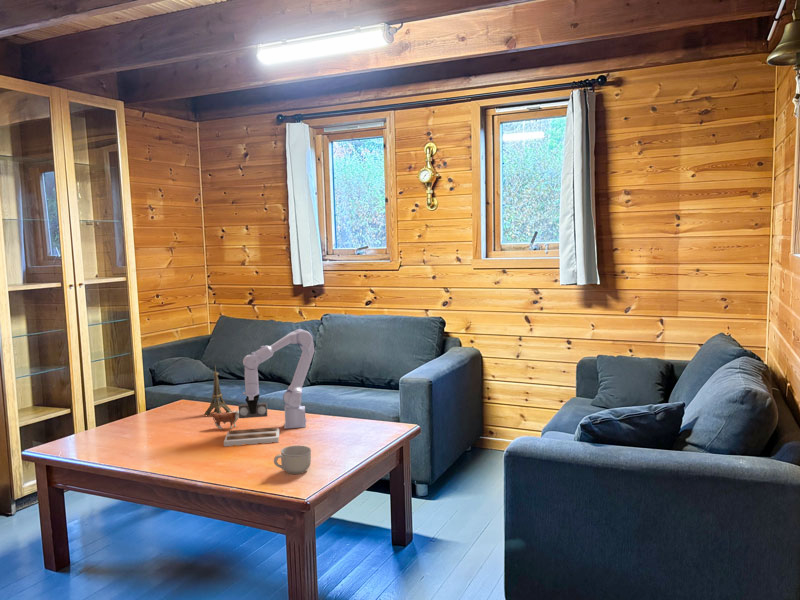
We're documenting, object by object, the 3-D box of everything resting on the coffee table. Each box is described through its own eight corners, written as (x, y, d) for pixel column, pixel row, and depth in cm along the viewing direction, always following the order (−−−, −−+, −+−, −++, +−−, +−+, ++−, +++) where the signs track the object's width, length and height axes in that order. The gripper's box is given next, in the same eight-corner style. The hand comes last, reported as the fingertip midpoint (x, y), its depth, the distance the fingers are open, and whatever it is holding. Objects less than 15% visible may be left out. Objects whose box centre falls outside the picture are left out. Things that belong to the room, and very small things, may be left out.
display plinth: (279, 432, 274) (279, 425, 274) (278, 442, 260) (278, 434, 260) (227, 436, 270) (227, 429, 270) (224, 446, 257) (223, 438, 256)
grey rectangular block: (267, 414, 279) (266, 402, 278) (267, 416, 275) (266, 404, 275) (239, 416, 277) (239, 404, 276) (239, 418, 274) (238, 406, 273)
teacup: (306, 464, 232) (305, 443, 231) (316, 472, 222) (315, 450, 222) (269, 471, 225) (268, 449, 225) (278, 480, 216) (277, 458, 215)
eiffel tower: (216, 410, 317) (213, 362, 315) (233, 412, 313) (230, 362, 311) (202, 416, 308) (199, 365, 306) (219, 417, 304) (216, 366, 302)
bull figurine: (242, 429, 282) (241, 411, 281) (212, 429, 282) (211, 412, 281) (244, 426, 286) (243, 408, 286) (215, 427, 286) (214, 409, 286)
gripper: (243, 379, 281) (245, 409, 282) (240, 386, 267) (242, 417, 268) (259, 378, 282) (261, 408, 283) (257, 385, 268) (259, 416, 269)
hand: (253, 412), depth 276 cm, fingers closed on grey rectangular block, 3 cm apart
